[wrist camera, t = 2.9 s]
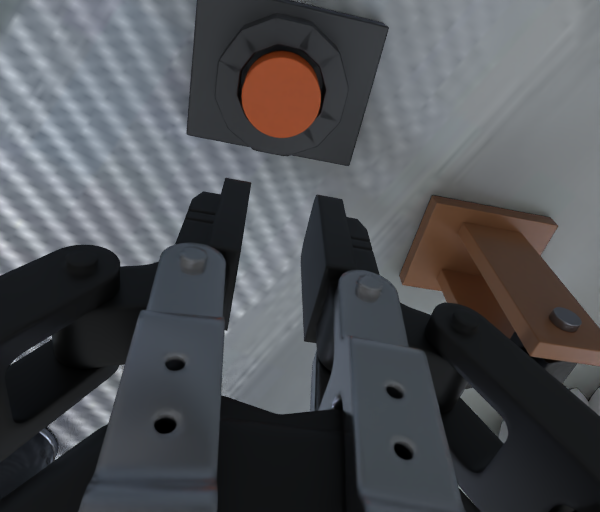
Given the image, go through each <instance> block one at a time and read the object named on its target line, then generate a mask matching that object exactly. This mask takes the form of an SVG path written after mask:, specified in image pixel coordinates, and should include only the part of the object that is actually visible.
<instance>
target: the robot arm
mask: <svg viewBox="0 0 600 512" xmlns="http://www.w3.org/2000/svg"><path fill="white" fill-rule="evenodd" d="M250 188H251V182H246V181H240V180H235V179H229V178H225V181H224V185H223V188H222V192H221V195H220V194H215V193H209V192H202V193H200V194H199V195H197V196H196V197H194V198H193V199H192V201H191V204H190V206H189V209H188V212H187V214H186V217H185V220H184V222H183V225H182V228H181V230H180V233H179V235H178V238H177V241H176V243H175V245H173V246H170V247H168V248H167V249H165V250H164V251H163V252H162V254H161V256H160V260H159V262H156V263H153V264H148V265H141V266H123V267H120V261H119V258H118V257H117V256H116V255H115V254H114V253H113V252H111V251H110V250H108V249H106V248H103V247H99V246H94V245H74V246H68V247H65V248H61V249H59V250H56V251H54V252H52V253H50V254H48V255H45V256H43V257H41V258H39V259H37V260H34V261H32V262H30V263H28V264H25V265H23V266H21V267H19V268H17V269H14V270H12V271H10V272H8V273H6V274H3V275H1V276H0V512H600V416H599V415H598V414H597V413H596V412H594V411H593V410H592V409H591V408H590V407H589V406H587V405H586V404H585V403H584V402H583V401H582V400H580V399H579V398H578V397H577V396H576V395H575V394H573V393H572V392H571V391H570V390H569V389H568V388H566V387H565V386H564V385H563V384H562V383H561V382H559V381H558V380H557V379H556V378H555V377H553V376H552V375H551V374H550V373H549V372H548V371H546V370H545V369H544V368H543V367H542V366H541V365H539V364H538V363H537V362H536V361H535V360H534V359H532V358H531V357H530V356H529V355H528V354H527V353H525V352H524V351H523V350H522V349H521V348H520V347H518V346H517V345H516V344H515V343H514V342H513V341H511V340H510V339H509V338H508V337H507V336H506V335H504V334H503V333H502V332H501V331H500V330H498V329H497V328H496V327H495V326H494V325H493V324H491V323H490V322H489V321H488V320H487V319H486V318H484V317H483V316H482V315H481V314H479V313H478V312H476V311H475V310H473V309H471V308H469V307H466V306H463V305H460V304H456V303H442V304H439V305H438V306H436V307H435V309H434V310H433V313H432V315H429V314H426V313H423V312H421V311H418V310H415V309H413V308H410V307H408V306H406V305H404V304H402V303H400V301H399V296H398V292H397V290H396V288H395V287H394V286H393V284H392V283H390V282H389V281H388V280H387V279H385V278H384V277H382V276H380V275H379V271H378V268H377V264H376V260H375V257H374V253H373V251H372V246H371V243H370V239H369V235H368V232H367V229H366V228H365V227H364V226H363V225H362V224H361V223H360V221H359V220H358V219H355V218H349V217H346V213H345V209H344V204H343V200H342V199H338V198H333V197H327V196H322V195H316V197H315V199H314V203H313V207H312V211H311V214H310V218H309V222H308V226H307V230H306V234H305V238H304V242H303V247H302V253H301V279H302V303H303V327H304V341H305V342H313V343H316V344H317V350H316V354H315V357H314V360H313V363H312V377H311V400H310V412H302V413H293V414H283V415H280V414H275V413H272V412H269V411H266V410H263V409H260V408H257V407H254V406H251V405H248V404H246V403H243V402H240V401H237V400H234V399H231V398H228V397H225V396H221V387H222V367H223V348H224V330H227V329H228V323H229V318H230V312H231V306H232V300H233V294H234V288H235V282H236V276H237V270H238V264H239V258H240V252H241V246H242V239H243V233H244V226H245V220H246V213H247V207H248V201H249V194H250ZM51 335H52V340H50V341H49V342H47V343H45V344H44V345H42V346H41V347H39V348H37V349H36V350H34V351H33V352H31V353H29V354H28V355H26V356H25V357H23V358H21V359H20V360H18V361H16V362H15V363H13V364H12V365H10V364H11V363H12V362H13V361H14V360H15V359H16V358H17V357H18V356H19V355H20V354H22V353H23V352H25V351H27V350H28V349H30V348H31V347H33V346H35V345H36V344H38V343H40V342H41V341H43V340H45V339H46V338H48V337H49V336H51ZM123 364H125V366H124V370H123V373H122V377H121V380H120V384H119V388H118V391H117V395H116V398H115V402H114V405H113V409H112V413H111V416H110V420H109V423H108V424H107V425H105V426H103V427H102V428H100V429H98V430H97V431H95V432H94V433H92V434H91V435H90V436H88V437H87V438H85V439H84V440H83V441H81V442H80V443H79V444H77V445H76V446H74V447H73V448H72V449H70V450H69V451H67V452H66V453H65V454H63V455H62V456H61V457H59V458H58V459H56V460H55V461H54V459H55V457H56V455H57V452H58V445H57V442H56V440H55V438H54V436H53V435H52V434H51V433H50V432H49V431H48V430H47V429H46V428H45V427H47V426H48V425H49V424H50V423H52V422H53V421H54V420H56V419H57V418H58V417H59V416H61V415H62V414H63V413H64V412H66V411H67V410H68V409H70V408H71V407H72V406H73V405H75V404H76V403H77V402H79V401H80V400H81V399H82V398H84V397H85V396H86V395H88V394H89V393H90V392H91V391H93V390H94V389H95V388H97V387H98V386H99V385H100V384H102V383H103V382H104V381H106V380H107V379H108V378H109V377H111V376H112V375H113V374H114V373H115V372H116V370H117V369H118V367H119V365H123ZM468 383H469V384H470V385H471V386H472V387H473V388H474V389H475V390H476V391H477V392H478V393H479V394H480V395H481V396H482V397H483V398H484V399H485V400H486V401H487V402H488V403H489V404H490V405H491V406H492V407H493V408H494V409H495V410H496V411H497V412H498V413H499V414H500V415H501V416H502V418H503V419H504V421H505V423H506V425H507V429H508V437H507V440H506V441H505V443H503V442H502V441H501V440H500V439H499V438H498V437H497V436H496V435H495V434H494V433H493V432H492V431H491V430H490V428H489V427H488V426H487V425H486V424H485V423H484V422H483V421H482V420H481V419H480V418H479V417H478V416H477V415H476V414H475V413H474V412H473V411H472V410H471V408H470V407H469V406H468V405H467V404H466V403H465V402H464V401H463V400H462V399H461V398H460V396H461V394H462V393H463V391H464V389H465V388H466V386H467V384H468ZM53 461H54V462H53ZM458 485H459V486H460V487H461V489H462V490H463V491H464V492H465V493H466V495H467V496H468V497H469V498H470V499H469V498H468V497H467V496H466V495H465V494H464V493H463V492H462V491H461V490H460V489H459V487H458ZM470 500H471V501H472V502H473V503H474V504H475V505H474V504H473V503H472V502H471V501H470Z"/></svg>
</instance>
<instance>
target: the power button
mask: <svg viewBox="0 0 600 512" xmlns="http://www.w3.org/2000/svg"><path fill="white" fill-rule="evenodd" d="M241 97H242V106H243V109H244V112H245V114H246V117H247V118H248V120H249V121H250V123H251V124H252V125H253V126H254V127H255V128H256V129H258V130H259V131H260V132H262V133H264V134H266V135H268V136H271V137H276V138H288V137H292V136H295V135H298V134H300V133H302V132H303V131H305V130H306V129H307V128H308V127H309V126H310V125H311V124H312V123H313V122H314V120H315V119H316V117H317V115H318V112H319V109H320V104H321V92H320V87H319V83H318V78H317V76H316V73H315V71H314V69H313V68H312V66H311V65H310V64H309V63H308V62H307V61H306V60H305V59H304V58H302V57H301V56H299V55H297V54H295V53H292V52H289V51H273V52H270V53H267V54H265V55H263V56H261V57H260V58H258V59H257V60H256V61H255V62H254V63H253V64H252V66H251V67H250V69H249V71H248V73H247V75H246V78H245V81H244V84H243V88H242V96H241Z"/></svg>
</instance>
